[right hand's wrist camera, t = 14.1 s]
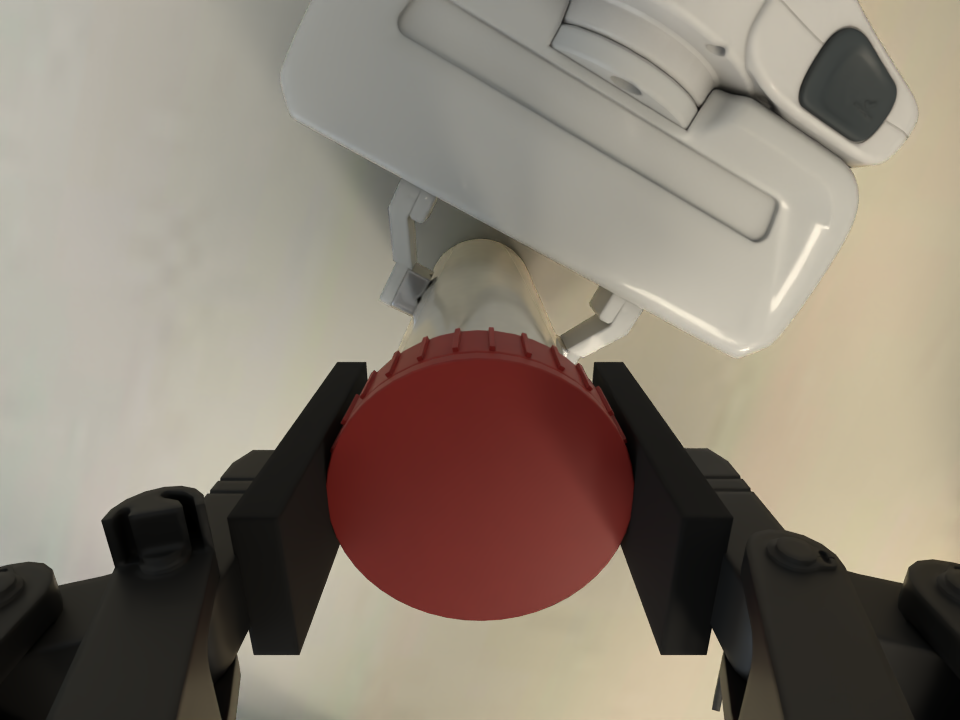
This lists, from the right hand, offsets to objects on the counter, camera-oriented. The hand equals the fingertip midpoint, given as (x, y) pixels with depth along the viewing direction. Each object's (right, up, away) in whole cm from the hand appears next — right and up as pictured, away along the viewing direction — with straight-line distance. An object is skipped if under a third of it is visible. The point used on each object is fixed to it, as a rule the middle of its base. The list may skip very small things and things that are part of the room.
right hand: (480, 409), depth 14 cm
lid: (0, -1, -4) cm, 4 cm away
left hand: (0, +2, +8) cm, 8 cm away
